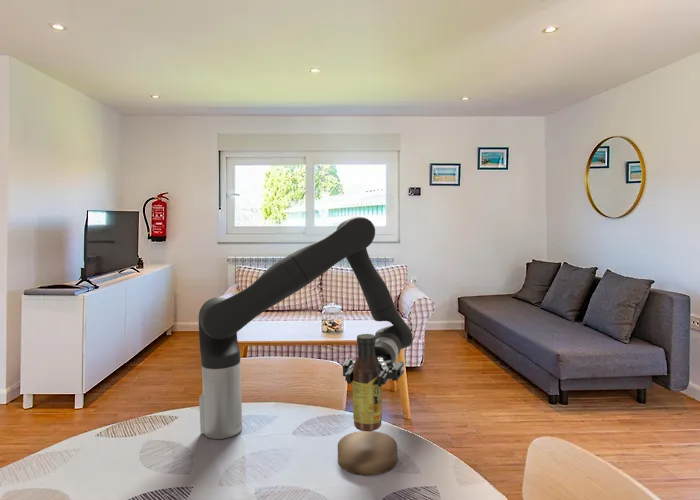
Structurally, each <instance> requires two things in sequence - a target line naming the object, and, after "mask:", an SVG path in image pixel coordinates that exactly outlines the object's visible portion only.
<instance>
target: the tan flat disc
mask: <svg viewBox="0 0 700 500" xmlns="http://www.w3.org/2000/svg"><path fill="white" fill-rule="evenodd" d="M337 462H338V465H339V466H340V467H341V468H342V469H343V470H344V471H346V472H348V473H350V474H353V475H356V476H366V477H367V476H368V477H372V476H380V475H383V474H387V473H388V472H390V471H391V470H393V469H394V468H395V467H396V465H397V463H398V444H397V441H396V440H395V438H394V437H392V436H390V435H388V434H387V433H384V432H381V431H380V432H379V431H377V430H374V431H360V430H358V431H354V432H351V433H348V434H346V435H344V436H343V437H341V438H340V439H339V441H338V442H337Z"/></svg>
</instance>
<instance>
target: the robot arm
mask: <svg viewBox="0 0 700 500" xmlns="http://www.w3.org/2000/svg"><path fill="white" fill-rule="evenodd" d="M375 235H376V227H375V225H374V223H373V222H372V221H371V220H370V219H368V218H366V217H364V216H353V217H351V218H349V219H346V220H344V221H342V222H341V223H340V224H338V226H337V227H336V230H335V231H334V232H332V233H331V234H328V236H326V237H325V238H322V239H321V240H319V241H316V242H314V243H311V244H308V245H306V246H304V247H302V248H299V249H298V250H296V251H294V252H292V253H289V254H288V255H287V256H284V257H283V258H282V259H280V260H278V261H276V262H275V263H274V264H272V265H271V266H270V267H269V268H268V269H266V270H265V271H264V272H263V273H262V274H261V275H260V276H259V277H258V278H257V279H256V280H255V281H254V282H253V283H251V284H250V285H249V286H248V287H246V288H244V289H242V290H241V291H239V292H237V293H236V294H234V295H231V296H229V297H227V298H225V297H219V296H217V297H213V298H210V299H208V300H207V301H204V302H203V304H202V306H201V307H200V309H199V313H198V337H199V353H200V358H201V359H200V361H201V378H202V379H201V381H202V383H201V387H202V394H200V395H199V396H198V398H199V399H198V401H199V402H198V403H199V427H200V434H202V435H204V436H205V437H206V438H207V439H208V438H209V439H213V440H222V439H228V438H231V437H234V436H236V435H238V434H240V433H241V431H242V430H243V405H242V403H243V401H242V371H241V369H242V368H241V351H240V350H241V349H240V346H239V343H238V340H239V339H238V332H240V330H242V329H243V328H244V327H246V326H247V325H248V324H249V323H251V321H253V320H254V319H255V318H257V317H258V316H260V315H261V314H262V313H264V312H265V311H267V310H269V309H271V308H272V307H274V306H276V305H277V304H279V303H280V302H282V301H284V300H285V299H287V298H288V297H290V296H292V295H294V294H295V293H297V292H299V291H300V290H301V289H303V288H305V287H306V286H308V285H309V284H311V283H312V282H314V280H316V279H318V278H319V277H321V276H322V275H323V274H326V272H327V271H329V270H330V269H331V268H332V267H334V266H335V265H336V264H338V263H339V262H341V261H342V260H343V261H344V259H346V260H347V262H348V264H349V265H350V268H351V269H352V271H353V275H355V278H356V280H357V281H358V284H359V285H360V286H359V287H360V288H361V291H362V294H363V296H364V298H365V300H366V304H367V306H368V309H369V311H370V314H371V317H372V319H373V320H374V321H376V322H388V323H390V324H392V325H389V326H385V327H382V328H380V329H378V330H377V331H376V332H375V340H376V342H375V356H376V359H377V362H378V364H379V367H380V370H381V372H380V374H379V376H378V386H381V388H382V386H383V385H386V384H387V382H389V380H392V381H394V382H395V381H398V380H399V379H400V378H401V377H402V376H403V374H405V369H404V367H405V366H404V365H405V362H404V361H403V360H400V361H397V360H398V356H399V354H400V352H401V350H402V349H406V348H408V347H411V345H412V343H413V340H414V337H413V332H412V330H411V327H409V325H408V324H407V323H406V321H405V320H404V318H402V316H401V314H400V313H399V312H398V310H397V308H396V306H395V303H394V300H393V298H392V295H391V292H390V291H389V288H388V286H387V284H386V282H385V281H384V279H383V278H382V276H381V274H380V273H379V272H378V271H377V269H376V267H375V266H374V264H373V263H372V261H371V258H370V255H369V253H368V252H369V251H368V249H367V248H368V247H369V246H371V244H372V243H373V242H374V239H375ZM355 361H356V360H353V359H352V357H346V358H345V360H344V362H343V363H342V376H343V377H345V378H344V379H345V382H346V383H347V384H350V385H351V384H352V383H353V365H354V363H355Z"/></svg>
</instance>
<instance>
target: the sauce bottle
mask: <svg viewBox="0 0 700 500" xmlns="http://www.w3.org/2000/svg"><path fill="white" fill-rule="evenodd" d="M356 342H357V358H356V360H354V361H355V363H354V365H353V381H352V414H353V417H352V418H353V425H354V427H355V428H356V429H357V430H358V431H377V430H378V429H379V428H381V427H382V419H383V410H382V409H383V408H382V407H383V405H382V404H383V402H382V398H383V397H382V395H383V394H382V392H383V391H382V387H381V386H378V376H379V374H380V372H381V370H380V367H379V364H378V362H377V359H376V356H375V342H376V340H375V335H374V334H371V333H362V334H358V335H357V336H356Z"/></svg>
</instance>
